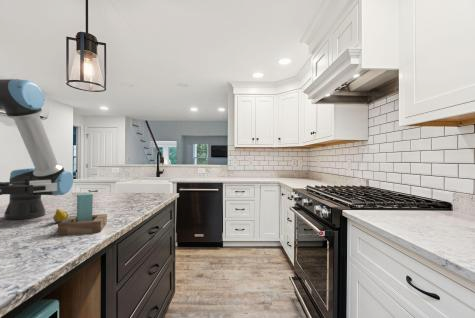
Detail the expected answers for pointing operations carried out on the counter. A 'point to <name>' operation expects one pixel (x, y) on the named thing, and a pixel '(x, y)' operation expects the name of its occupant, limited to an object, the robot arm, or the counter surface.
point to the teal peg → (84, 207)
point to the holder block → (82, 225)
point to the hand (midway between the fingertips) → (54, 185)
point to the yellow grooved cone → (60, 216)
